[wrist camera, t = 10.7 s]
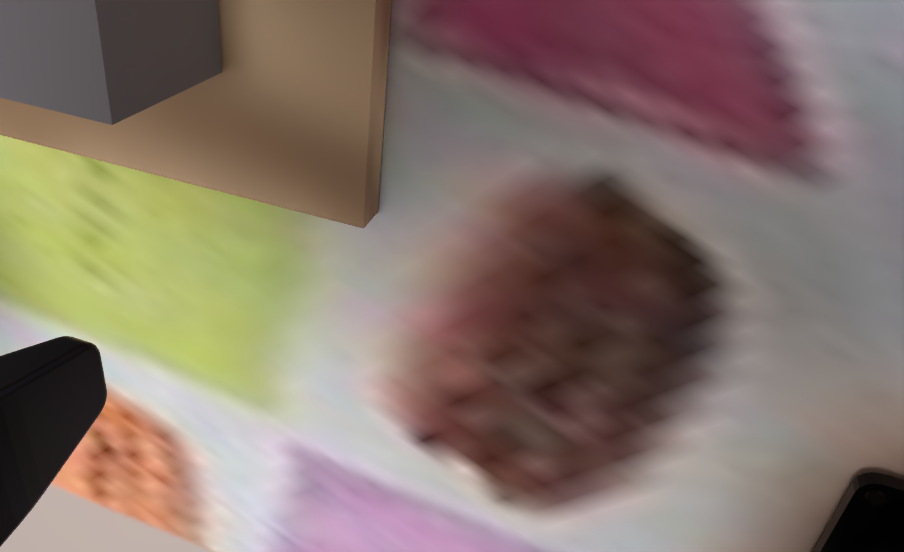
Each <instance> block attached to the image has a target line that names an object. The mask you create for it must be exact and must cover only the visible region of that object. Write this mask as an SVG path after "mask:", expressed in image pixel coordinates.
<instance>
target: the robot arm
mask: <svg viewBox="0 0 904 552" xmlns="http://www.w3.org/2000/svg"><path fill="white" fill-rule="evenodd" d="M106 397H107V389H106V384H105V378H104V372H103V367H102V361H101V356H100V352H99V350H98V348H97V347H96V345H94V344H92V343H90V342H87V341H83V340H80V339H77V338H74V337H69V336H63V337H59V338H55V339H52V340H49V341H46V342H43V343H40V344H37V345H33V346H30V347H27V348H24V349H21V350H18V351H15V352H12V353H8V354H5V355H2V356H0V546H1V545H2V544H3V543H4V542H5V541H6V539H7V538H8V537H9V536H10V535H11V534H12V532H13V531H14V530H15V529H16V528H17V527H18V525H19V524H20V523H21V522H22V521H23V519H24V518H25V517H26V516H27V514H28V513H29V512H30V511H31V510H32V508H33V507H34V505H35V504H36V503H37V502H38V500H39V499H40V498H41V496H42V495H43V494H44V492H45V491H46V489H47V488H48V486H49V485H50V484H51V482H52V481H53V479H54V478H55V477H56V475H57V474H58V472H59V471H60V469H61V468H62V467H63V465H64V464H65V462H66V461H67V460H68V458H69V457H70V455H71V454H72V452H73V451H74V450H75V448H76V447H77V445H78V444H79V443H80V441H81V440H82V438H83V437H84V435H85V434H86V433H87V431H88V430H89V428H90V427H91V426H92V424H93V423H94V421H95V420H96V418H97V417H98V416H99V414H100V413H101V411H102V409H103V407H104V405H105V402H106ZM871 491H880V492H881V493H879V494H875V495H874V494H868V492H871ZM812 552H904V480H901V479H897V478H894V477H890V476H887V475H883V474H879V473H865V474H862V475H860V476H857V477H856V478H855V479H854V480H853V481H852V483H851V485H850V487H849V488H848V490H847V492H846V494H845V495H844V497H843V499H842V501H841V502H840V504H839V506H838V508H837V509H836V511H835V513H834V515H833V516H832V518H831V520H830V522H829V523H828V525H827V527H826V529H825V530H824V532H823V534H822V536H821V537H820V539H819V541H818V542H817V544H816V546H815V548H814V549H813V551H812Z"/></svg>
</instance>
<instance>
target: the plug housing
mask: <svg viewBox="0 0 904 552" xmlns="http://www.w3.org/2000/svg"><path fill="white" fill-rule="evenodd" d="M220 73H222V62H221V44H220V26H219V8H218V0H0V98H4V99H8V100H12V101H16V102H20V103H24V104H28V105H32V106H36V107H40V108H45V109H49V110H53V111H57V112H61V113H65V114H69V115H73V116H77V117H81V118H85V119H89V120H93V121H98V122H102V123H106V124H110V125H113V124H116V123H118V122H120V121H122V120H124V119H126V118H128V117H130V116H132V115H134V114H136V113H139V112H141V111H143V110H145V109H147V108H149V107H151V106H153V105H155V104H157V103H160V102H162V101H164V100H166V99H168V98H170V97H172V96H174V95H176V94H178V93H180V92H183V91H185V90H187V89H189V88H191V87H193V86H195V85H197V84H199V83H201V82H203V81H206V80H208V79H210V78H212V77H214V76H216V75H218V74H220Z"/></svg>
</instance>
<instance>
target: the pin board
mask: <svg viewBox="0 0 904 552" xmlns="http://www.w3.org/2000/svg"><path fill="white" fill-rule="evenodd" d="M391 5H392V0H218V8H219V26H220V44H221V62H222V73H220V74H218V75H216V76H214V77H212V78H210V79H208V80H206V81H203V82H201V83H199V84H197V85H195V86H193V87H191V88H189V89H187V90H185V91H183V92H180V93H178V94H176V95H174V96H172V97H170V98H168V99H166V100H164V101H162V102H160V103H157V104H155V105H153V106H151V107H149V108H147V109H145V110H143V111H141V112H139V113H136V114H134V115H132V116H130V117H128V118H126V119H124V120H122V121H120V122H118V123H116V124H113V125H110V124H106V123H102V122H98V121H93V120H89V119H85V118H81V117H77V116H73V115H69V114H65V113H61V112H57V111H53V110H49V109H45V108H40V107H36V106H32V105H28V104H24V103H20V102H16V101H12V100H8V99H4V98H0V135H4V136H7V137H11V138H15V139H19V140H23V141H27V142H31V143H35V144H38V145H42V146H46V147H50V148H54V149H58V150H62V151H66V152H69V153H73V154H77V155H81V156H85V157H89V158H93V159H97V160H100V161H104V162H108V163H112V164H116V165H120V166H124V167H128V168H131V169H135V170H139V171H143V172H147V173H151V174H155V175H159V176H163V177H166V178H170V179H174V180H178V181H182V182H186V183H190V184H194V185H197V186H201V187H205V188H209V189H213V190H217V191H221V192H225V193H228V194H232V195H236V196H240V197H244V198H248V199H252V200H256V201H259V202H263V203H267V204H271V205H275V206H279V207H283V208H287V209H290V210H294V211H298V212H302V213H306V214H310V215H314V216H318V217H321V218H325V219H329V220H333V221H337V222H341V223H345V224H349V225H353V226H356V227H360V228H364V227H365V226H366V225H367V224H368V223H369V222H370V220H371V219H372V218H373V217H374V216H375V215H376V214H377V213H378V204H379V189H380V174H381V158H382V143H383V128H384V112H385V97H386V82H387V66H388V51H389V36H390V20H391Z"/></svg>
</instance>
